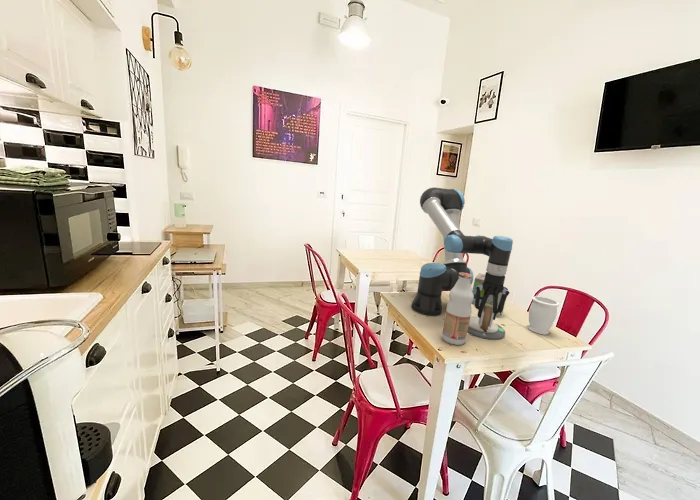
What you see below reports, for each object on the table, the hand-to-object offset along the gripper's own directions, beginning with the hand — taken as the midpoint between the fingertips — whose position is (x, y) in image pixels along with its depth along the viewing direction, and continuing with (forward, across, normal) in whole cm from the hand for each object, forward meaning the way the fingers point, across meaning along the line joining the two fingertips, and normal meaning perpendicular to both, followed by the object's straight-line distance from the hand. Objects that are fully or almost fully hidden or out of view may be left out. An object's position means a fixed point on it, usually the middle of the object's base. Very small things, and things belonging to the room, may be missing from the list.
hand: (484, 325), depth 132 cm
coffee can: (+4, +11, +29) cm, 31 cm away
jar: (+4, +28, +14) cm, 32 cm away
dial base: (+4, 0, +5) cm, 7 cm away
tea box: (+4, +9, +44) cm, 45 cm away
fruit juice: (+4, -14, -10) cm, 18 cm away
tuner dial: (+3, 0, +4) cm, 5 cm away
